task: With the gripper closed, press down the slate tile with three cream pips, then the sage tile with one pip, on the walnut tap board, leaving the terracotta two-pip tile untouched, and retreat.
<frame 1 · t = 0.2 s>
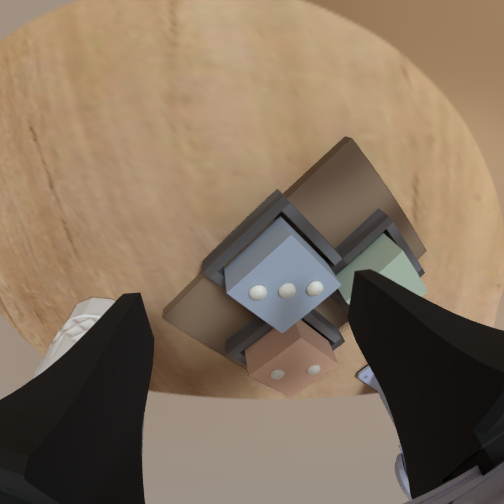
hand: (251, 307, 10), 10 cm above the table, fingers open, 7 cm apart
tile one: (382, 286, 19), point 3 cm above the table, slide at 0.0 cm
white cup: (109, 329, 22), on the table
tile two: (291, 359, 21), point 3 cm above the table, slide at 0.0 cm
tile three: (282, 278, 17), point 3 cm above the table, slide at 0.0 cm
tap board: (301, 277, 22), on the table
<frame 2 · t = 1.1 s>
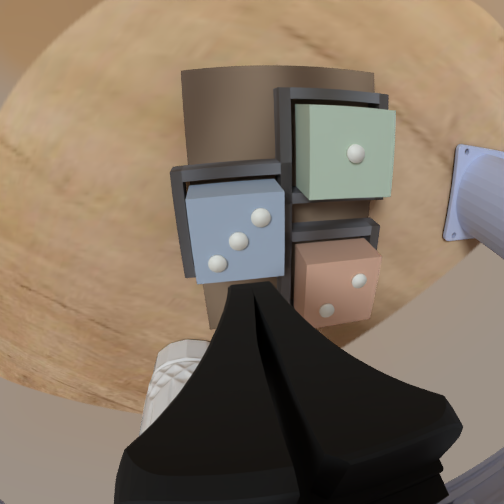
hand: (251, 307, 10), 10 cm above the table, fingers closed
tile one: (345, 149, 14), point 3 cm above the table, slide at 0.0 cm
white cup: (194, 364, 25), on the table
tile two: (335, 284, 18), point 3 cm above the table, slide at 0.0 cm
tile three: (236, 230, 16), point 3 cm above the table, slide at 0.0 cm
tap board: (283, 204, 19), on the table
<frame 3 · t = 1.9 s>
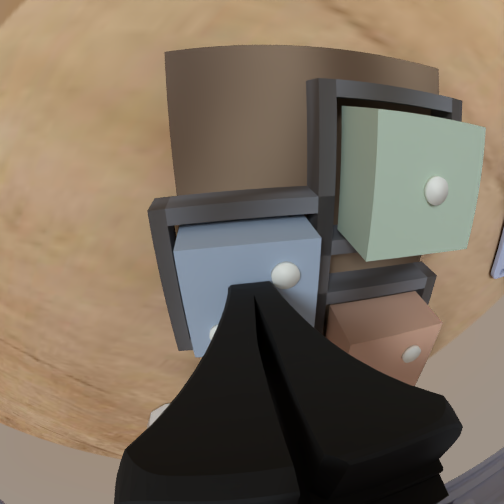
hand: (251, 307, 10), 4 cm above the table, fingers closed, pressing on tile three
tile one: (414, 179, 9), point 3 cm above the table, slide at 0.0 cm
tile two: (378, 353, 13), point 3 cm above the table, slide at 0.0 cm
tile three: (248, 286, 11), point 3 cm above the table, slide at -0.9 cm, touching gripper
tap board: (312, 247, 14), on the table
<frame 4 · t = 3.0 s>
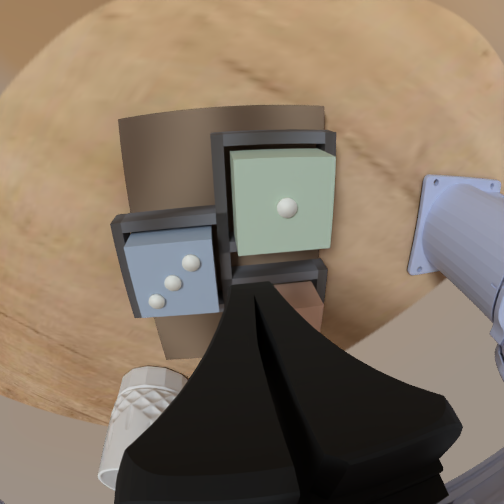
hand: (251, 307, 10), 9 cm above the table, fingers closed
tile one: (280, 199, 15), point 3 cm above the table, slide at 0.0 cm
white cup: (157, 387, 25), on the table
tile two: (278, 327, 18), point 3 cm above the table, slide at 0.0 cm
tile three: (174, 270, 17), point 2 cm above the table, slide at -1.0 cm
tap board: (229, 246, 19), on the table
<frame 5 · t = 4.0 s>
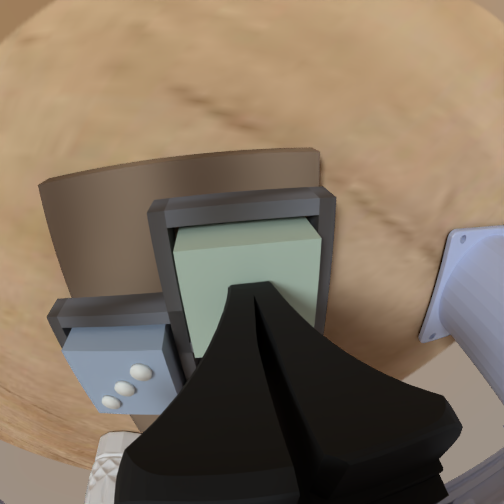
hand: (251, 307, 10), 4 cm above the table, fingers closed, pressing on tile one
tile one: (248, 286, 11), point 2 cm above the table, slide at -1.0 cm, touching gripper
white cup: (138, 446, 21), on the table
tile three: (129, 368, 13), point 2 cm above the table, slide at -1.0 cm
tap board: (197, 330, 15), on the table
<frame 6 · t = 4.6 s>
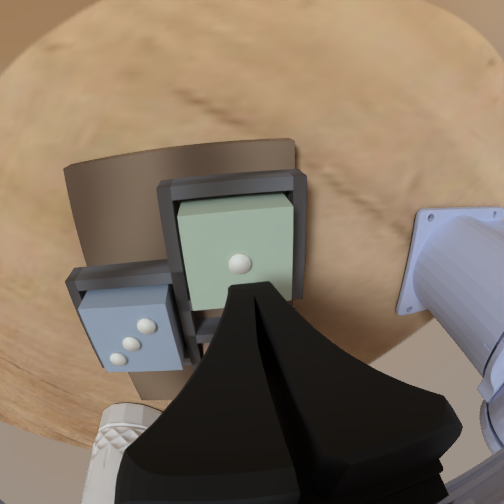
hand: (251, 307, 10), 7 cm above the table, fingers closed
tile one: (236, 249, 14), point 2 cm above the table, slide at -1.0 cm
white cup: (138, 420, 23), on the table
tile two: (248, 382, 17), point 3 cm above the table, slide at 0.0 cm
tile three: (135, 327, 15), point 2 cm above the table, slide at -1.0 cm
tap board: (194, 296, 18), on the table
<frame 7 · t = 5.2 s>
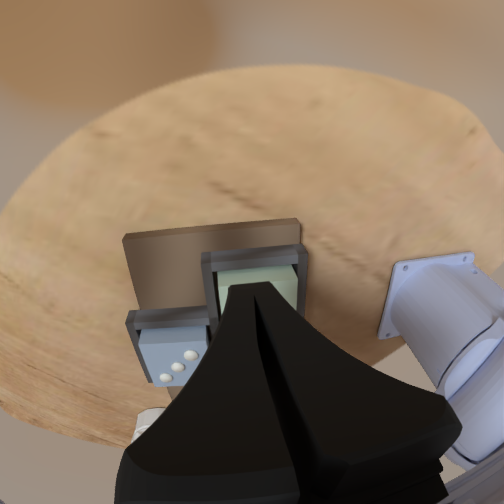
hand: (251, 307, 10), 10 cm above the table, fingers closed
tile one: (257, 303, 19), point 2 cm above the table, slide at -1.0 cm
white cup: (167, 421, 29), on the table
tile three: (178, 354, 21), point 2 cm above the table, slide at -1.0 cm
tap board: (221, 329, 23), on the table
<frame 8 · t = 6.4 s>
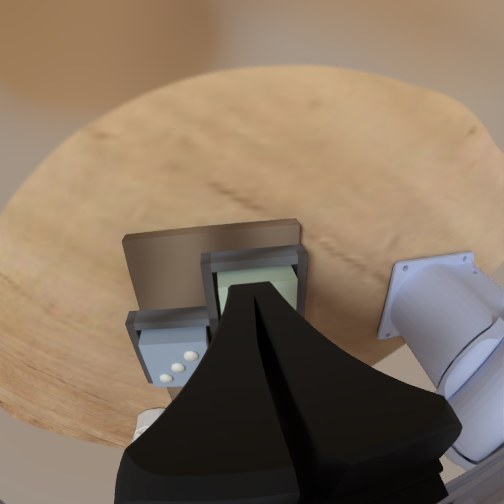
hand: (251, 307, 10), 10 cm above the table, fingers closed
tile one: (256, 303, 19), point 2 cm above the table, slide at -1.0 cm
white cup: (167, 422, 29), on the table
tile three: (178, 354, 21), point 2 cm above the table, slide at -1.0 cm
tap board: (221, 329, 23), on the table
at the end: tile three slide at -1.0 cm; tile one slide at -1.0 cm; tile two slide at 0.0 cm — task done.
